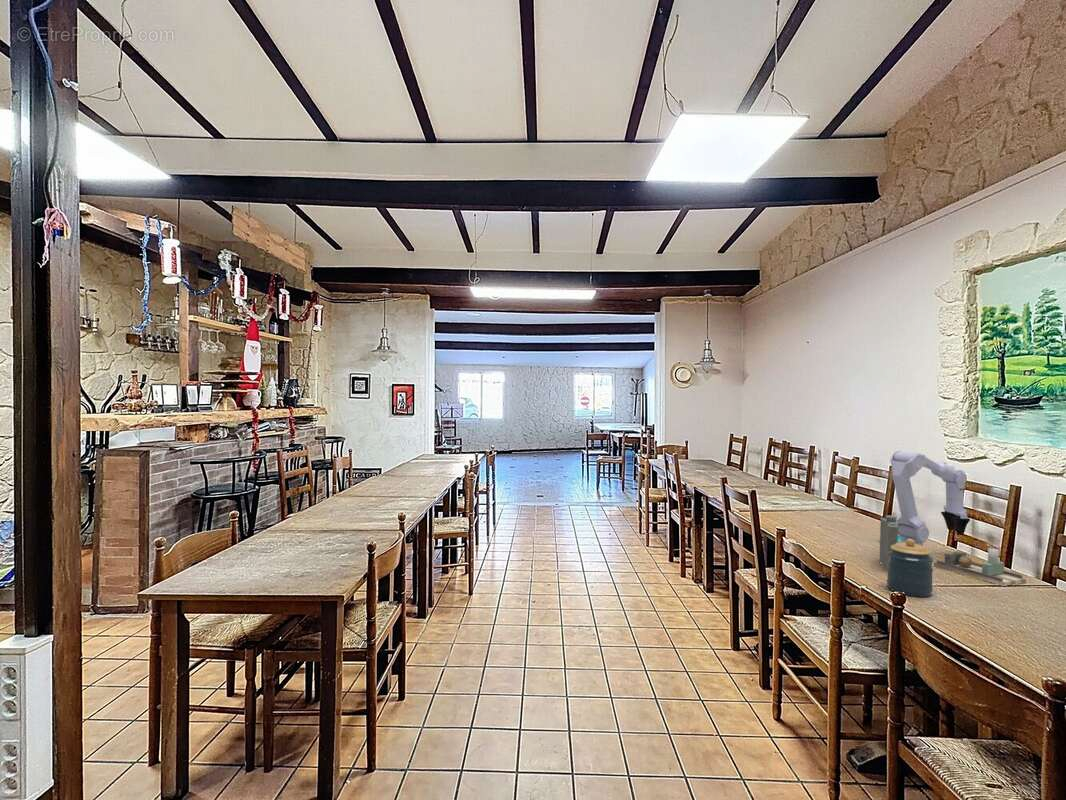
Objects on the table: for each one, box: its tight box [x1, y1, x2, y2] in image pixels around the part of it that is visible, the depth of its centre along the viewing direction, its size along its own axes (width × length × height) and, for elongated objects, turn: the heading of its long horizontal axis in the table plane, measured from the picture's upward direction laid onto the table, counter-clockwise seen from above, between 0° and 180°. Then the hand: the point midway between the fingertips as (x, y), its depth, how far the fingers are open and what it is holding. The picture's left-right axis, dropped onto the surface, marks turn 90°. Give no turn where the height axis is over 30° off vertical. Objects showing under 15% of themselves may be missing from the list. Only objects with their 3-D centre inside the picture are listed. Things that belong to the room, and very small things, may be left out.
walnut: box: [959, 555, 973, 567], centre depth 214 cm, size 4×4×4 cm
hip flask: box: [879, 515, 899, 573], centre depth 215 cm, size 16×4×20 cm, turn 159°
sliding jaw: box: [981, 547, 1005, 575], centre depth 205 cm, size 9×3×9 cm, turn 111°
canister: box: [886, 539, 934, 598], centre depth 191 cm, size 13×13×18 cm
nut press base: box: [933, 551, 1027, 587], centre depth 209 cm, size 12×24×6 cm, turn 21°
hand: (955, 532), depth 229 cm, fingers open, 7 cm apart
